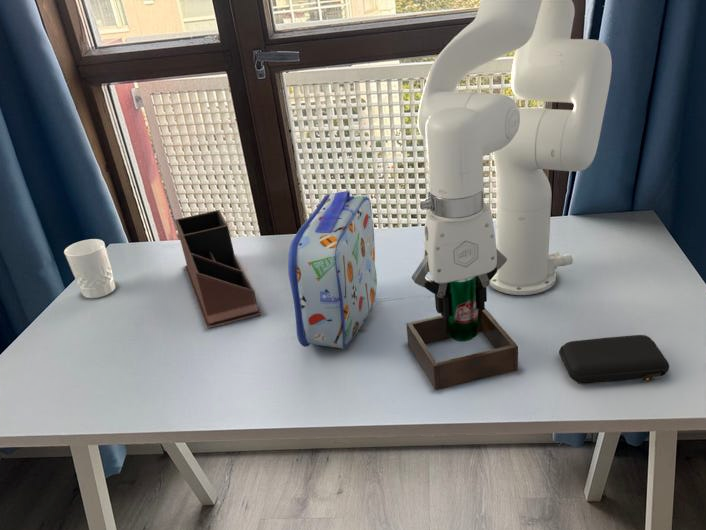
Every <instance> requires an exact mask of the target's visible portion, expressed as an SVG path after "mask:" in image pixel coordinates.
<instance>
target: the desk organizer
mask: <svg viewBox="0 0 706 530" xmlns="http://www.w3.org/2000/svg"><path fill="white" fill-rule="evenodd" d="M174 222H175V223H174V224H175V226H176V230H177V233H178V238H179V241H180V245H181V248H182V252H183V256H184V259H185V265H184V268H185V270H186V273H187V275H188V278H189V282H190V283H191V288H192V290H193V292H194V295H195V298H196V301H197V304H198V307H199V309H200V312H201V315H202V318H203V320H204V323H205V327H206V329H211V328H214V327H218V326H222V325H226V324H229V323H233V322H238V321H241V320H245V319H248V318H249V319H250V318H252V317H257V316H261V315H262V311H261V309H260V306H259V305H258V301H257V296H256V292H255V288H253V286H252V285H251V283H250V281H249V279H248V277H247V276H246V273H245V272H244V270H243V268H242V266H241V264H240V263H239V261H238V259H237V258H238V257H236V254H235V250H234V247H233V242H232V237H231V233H230V229H229V224H228V223H227V221H226V220H225V218H224V216H223V214H222V212H221V210H220V209H217V210H211V211H208V212H203V213H199V214H194V215H190V216H187V217H186V216H185V217H181V218H176V219H174Z"/></svg>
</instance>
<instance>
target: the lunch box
mask: <svg viewBox="0 0 706 530" xmlns="http://www.w3.org/2000/svg"><path fill="white" fill-rule="evenodd" d="M372 210H373V209H372V204H371V199H370V197H368V195H366V194H357V195H351V193H350V190H344V191H339V192H335V193H328V194H325V195H324V197H323V198H322V199H321V200H320V203H319V204H318V205H317V206H316V208H315V210H314V211H313V212H312V213H311V215H310V216H309V217H308V218H307V219H306V220H305V222H304V223H303V224H302V225H301V226H300V228H299V229H298V230H297V232H296V233H295V235H294V237H293V238H292V240H291V242H290V245H289V249H288V257H287V259H288V260H287V265H288V266H287V268H288V269H287V271H288V279H289V284H290V285H289V286H290V288H291V295H292V301H293V307H294V315H295V328H296V338H297V340H298V343H299V344H300V345H301V346H302V347H303V348H306V347H309V346H310V345H315V346H322V347H331V348H337V349H346V348H347V346H348V345H349V344H350V343H351V341H352V340H353V338H355V336H356V335H357V333H358V331H359V330H360V328H361V327H362V325H363V324H364V323H365V322H366V320H367V319H368V318H369V313H370V311H371V308H372V306H373V303H374V301H375V298H376V295H377V287H378V277H377V267H376V243H375V228H374V227H375V226H374V219H373V212H372Z"/></svg>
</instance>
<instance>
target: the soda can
mask: <svg viewBox="0 0 706 530" xmlns="http://www.w3.org/2000/svg"><path fill="white" fill-rule="evenodd" d="M446 295H447V296H448V298H449V319H446V333H447V335H448V336H449V337H450V338H451V339H450V340H452V341H455V342H458V343H459V342H460V343H464V342H470V341H471V340H473V339H475V337H476V336H478V334H479V332H478V295H477V276H474V277H470V278H466V279H462V280H457V281H453V282H448V284H447V288H446Z"/></svg>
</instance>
